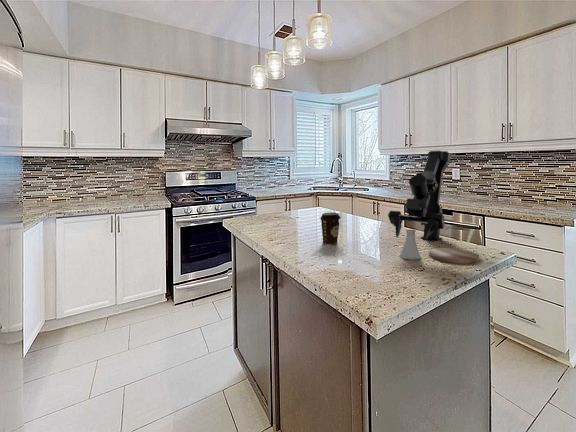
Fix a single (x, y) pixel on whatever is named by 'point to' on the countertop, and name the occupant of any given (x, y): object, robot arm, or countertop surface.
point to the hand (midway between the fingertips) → (409, 238)
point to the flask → (410, 247)
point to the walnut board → (454, 255)
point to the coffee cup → (330, 227)
